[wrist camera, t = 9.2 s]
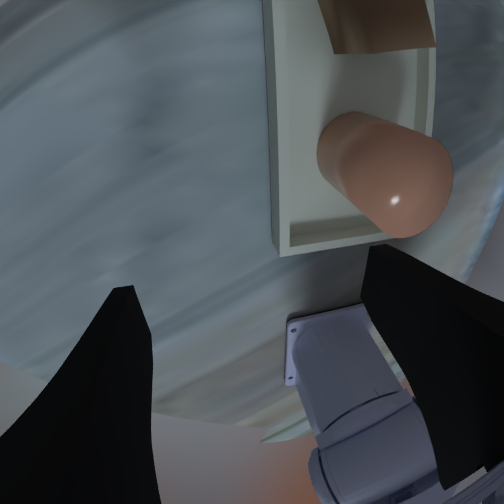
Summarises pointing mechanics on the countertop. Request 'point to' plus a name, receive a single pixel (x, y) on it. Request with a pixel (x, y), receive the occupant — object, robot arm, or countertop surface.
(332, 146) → the brown rounded cylinder
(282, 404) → the countertop surface
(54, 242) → the countertop surface
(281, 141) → the tray
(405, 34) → the walnut block
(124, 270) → the countertop surface
